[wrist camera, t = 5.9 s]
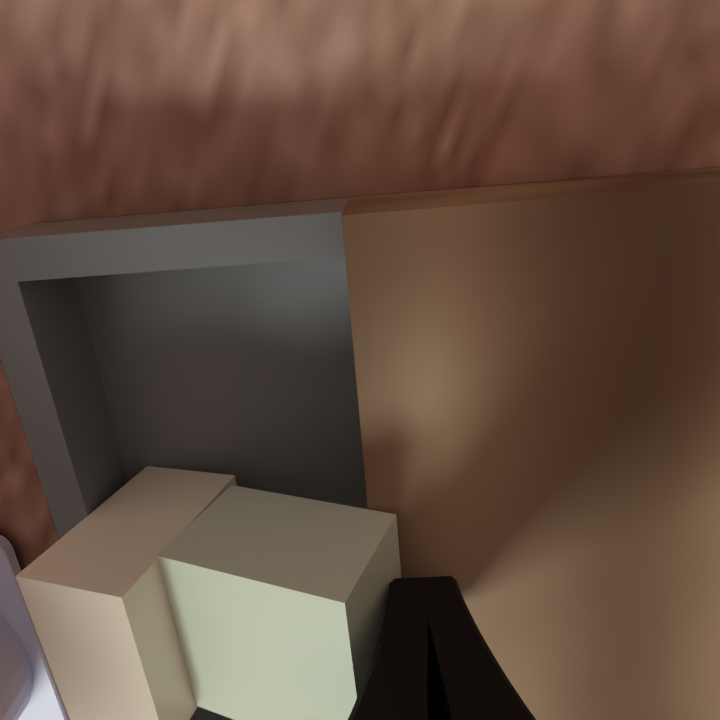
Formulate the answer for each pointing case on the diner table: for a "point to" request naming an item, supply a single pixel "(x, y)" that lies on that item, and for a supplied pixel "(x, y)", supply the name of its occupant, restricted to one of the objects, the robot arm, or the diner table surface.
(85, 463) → the box
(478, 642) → the robot arm
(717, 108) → the diner table surface
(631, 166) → the diner table surface
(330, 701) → the tile
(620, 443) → the board
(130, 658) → the tile
